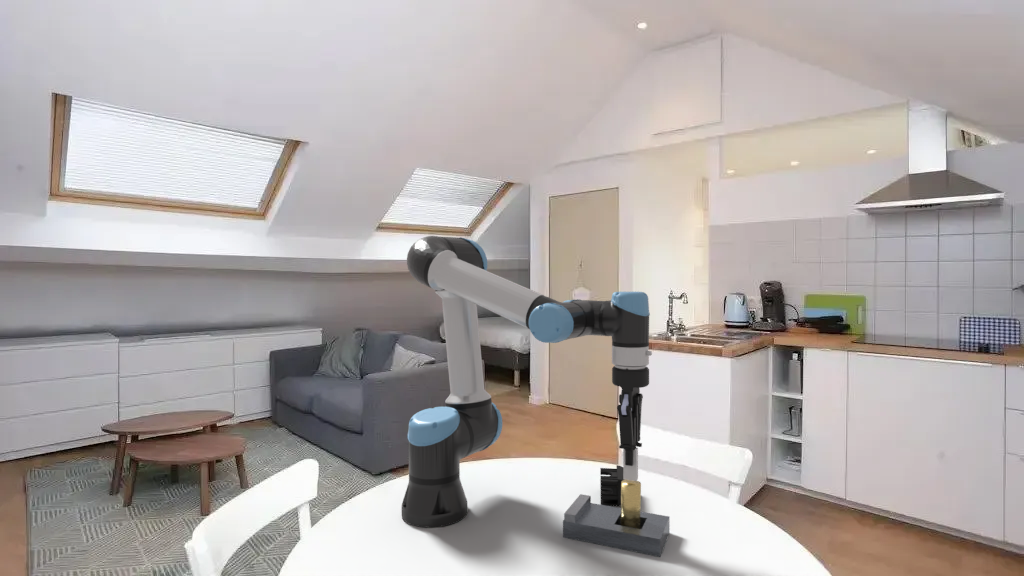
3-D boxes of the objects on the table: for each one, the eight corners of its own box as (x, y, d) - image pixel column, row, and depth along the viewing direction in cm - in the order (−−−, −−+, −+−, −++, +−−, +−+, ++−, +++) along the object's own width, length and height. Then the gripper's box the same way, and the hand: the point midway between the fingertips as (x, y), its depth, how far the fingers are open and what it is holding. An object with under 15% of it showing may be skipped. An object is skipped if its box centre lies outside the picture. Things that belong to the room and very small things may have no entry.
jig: (563, 537, 116) (562, 513, 116) (579, 516, 126) (579, 493, 126) (660, 557, 107) (660, 531, 107) (669, 532, 117) (669, 509, 117)
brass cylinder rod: (618, 532, 114) (619, 484, 114) (622, 524, 118) (623, 478, 118) (638, 536, 113) (638, 487, 113) (641, 528, 116) (642, 481, 116)
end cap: (631, 508, 130) (631, 480, 130) (600, 506, 131) (600, 478, 131) (628, 491, 140) (628, 465, 140) (600, 490, 141) (600, 464, 141)
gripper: (642, 372, 107) (642, 493, 108) (654, 362, 119) (654, 471, 119) (604, 369, 110) (604, 487, 111) (620, 360, 122) (620, 466, 123)
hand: (630, 478), depth 115 cm, fingers closed
